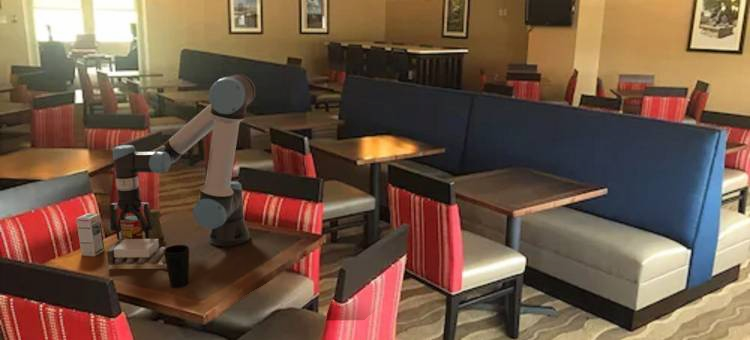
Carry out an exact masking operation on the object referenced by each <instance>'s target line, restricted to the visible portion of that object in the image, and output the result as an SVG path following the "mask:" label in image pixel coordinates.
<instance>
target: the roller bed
mask: <svg viewBox="0 0 750 340" xmlns="http://www.w3.org/2000/svg"><path fill="white" fill-rule="evenodd" d="M123 240H124V239H120V240H117V242H116V243H115V244H113V245H112V246H111V247H110V248H109V249H107V251H106V254H107V263H108V264H107V265H108V270H139V269H140V270H141V269H142V270H145V269H146V270H147V269H150V270H151V269H152V270H153V269H154V270H155V269H158V270H159V269H160V270H161V269H162V270H163V269H164V270H165V269H166V270H167V265H166V260H165V255H164V250H165V249H166V248H167V247H165V246H161V247H160V248H159V249H158V251H155V252H154V253H153V254H152V255H151V256H150V257H117V258H114V251H113V249H114V248H115V247H116V246H118V245H119V244H120V243H121V242H122V241H123Z"/></svg>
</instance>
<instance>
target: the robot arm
mask: <svg viewBox="0 0 750 340" xmlns="http://www.w3.org/2000/svg"><path fill="white" fill-rule="evenodd" d="M255 97H256V88H255V84H254V83H253V81H252V80H251V79H250V78H249V77H247V76H246V75H243V74H232V75H230V76H224V77H222V78H220V79H218V80H217V81H215V82H214V83H213V84H212V85H211V86H210V89H209V92H208V101H209V104H208V105H207V106H206V107H205V108H203V109H202V110H201V111H200V112H199V113H197V115H195V116H193V118H192V119H191V120H189V121H188V122H187V123H186V124H185V125H184V126H182V127H181V128H180V129H179V130H178V131H176V133H175V134H173V135H172V136H171V137H170V138H168V139H167V140H166V141H165V142H164V143H163V144H162V145H160V146H158V147H156V148H154V149H152V150H149V151H137V150H136V148H135V146H134V145H132V144H123V145H117V146H115V147H113V149H112V161H113V166H114V174H115V183H116V184H115V185H116V189H117V190H116V193H117V200H118V201H117V202H113V203H111V204H110V205H109V208H110V212H111V213H110V230H111V231H114V232H116V238H117V239H116V240H117V241H119V240H120V239H122V233H121V225H120V220H123V219H124V218H125V217H126V216H127V214H133V215H135V216H136V217H137V219H138V220H140V219H141V226H142V228H143V229H144V231H143V232H142V235H143V239H149V238H150V232H149V230H151V229H152V228H153V227H154V223H153V219H152V216H151V212H150V210H151V209H150V206H151V205H150V204H151V203H150V202H149V201H147V202H143V201H142V200H141V192H140V187H139V186H140V183H139V174H138V173H150V174H151V173H153V174H160V173H168V171H169V170H170V168H171V165H172V164H174V163H176V162H177V161H178V160H179V159H181V156H183V154H185V153H186V152H188V151H189V150H190V149H191V148H192V147H193V146H195V145H196V144H198V142H199V141H200V140H202V139H203V138H204V137H205V136H206V135H207V134H209V133H210V132H212V133H211V141H210V148H209V156H208V161H207V169H206V177H205V183H204V184H203V185H200V189H199V194H198V195H199V196H198V201H196V203H195V204H194V206H193V209H192V215H193V218H194V220H195V221H196V222H197V223H198V225H199V226H201V227H202V228H205V229H209V230H210V231H209V234H208V235H209V236H208V240H209V244H211V245H213V246H217V247H233V246H238V245H242V244H245V243H247V242H248V241H249V240H250V233H249V229H248V227H247V224H246V221H245V219H244V218H245V217H244V205H243V202H244V201H243V188H242V187H243V186H242V184H241V183H240V182H239V181H234V180H232V176H233V171H234V169H233V168H234V162H235V156H236V150H237V149H236V148H237V142H238V137H239V128H240V123H241V122H243V121H244V120H245V118H246V113H247V107H248V106H249V105H250V104H251V103H252V102H253V101H254V99H255ZM140 207H142V209H143V212H144V215H143V213H142V210H141V208H140ZM118 208H119V209H120V210H121V211H120V215H119V219H118Z"/></svg>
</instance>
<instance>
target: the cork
mask: <svg viewBox="0 0 750 340" xmlns="http://www.w3.org/2000/svg"><path fill="white" fill-rule="evenodd" d="M150 212H151V216H152V219H153V223H154V227H153V228H152V229H151V230H149V232H150V238H149V239H158V240H160V239H162V238H164V233H163V228H162V225H161V220H160V218H161V211H160V210H158V209H150Z"/></svg>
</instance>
